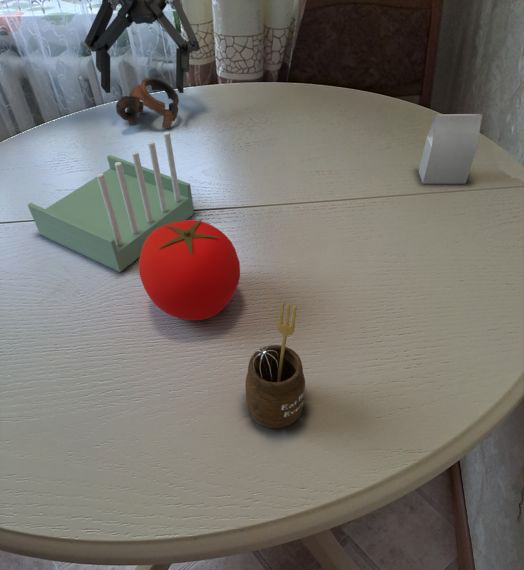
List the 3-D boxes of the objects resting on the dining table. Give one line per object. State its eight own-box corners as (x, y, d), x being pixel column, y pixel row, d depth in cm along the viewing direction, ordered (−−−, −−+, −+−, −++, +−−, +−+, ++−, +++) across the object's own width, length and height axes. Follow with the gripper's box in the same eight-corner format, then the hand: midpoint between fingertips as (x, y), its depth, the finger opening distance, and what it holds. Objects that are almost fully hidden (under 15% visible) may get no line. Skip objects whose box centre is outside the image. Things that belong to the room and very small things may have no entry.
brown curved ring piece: (149, 108, 101) (163, 71, 95) (177, 142, 100) (193, 108, 94) (99, 112, 93) (111, 73, 86) (129, 150, 92) (143, 113, 85)
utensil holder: (237, 419, 51) (229, 342, 42) (262, 374, 55) (259, 294, 46) (291, 439, 50) (294, 363, 41) (312, 391, 53) (320, 312, 44)
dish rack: (40, 234, 73) (3, 149, 63) (117, 183, 81) (95, 101, 72) (120, 272, 67) (93, 184, 57) (194, 213, 75) (182, 128, 66)
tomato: (259, 311, 62) (257, 241, 54) (174, 350, 58) (157, 281, 50) (213, 259, 68) (205, 191, 60) (134, 291, 64) (114, 222, 56)
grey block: (465, 183, 79) (485, 120, 72) (422, 183, 80) (438, 120, 72) (460, 171, 82) (479, 109, 74) (418, 171, 82) (433, 109, 74)
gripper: (215, -21, 92) (214, 98, 94) (82, -20, 93) (83, 98, 95) (209, -51, 84) (207, 79, 86) (64, -49, 86) (66, 80, 87)
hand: (142, 89), depth 90 cm, fingers open, 13 cm apart
